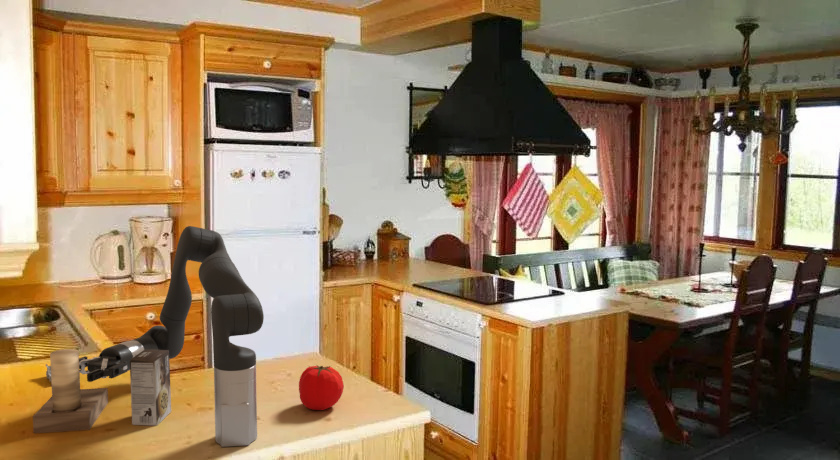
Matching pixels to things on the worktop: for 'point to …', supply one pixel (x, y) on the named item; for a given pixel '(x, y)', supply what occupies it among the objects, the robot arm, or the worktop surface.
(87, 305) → the worktop surface
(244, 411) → the robot arm
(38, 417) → the seat board
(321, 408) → the tomato
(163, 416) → the coffee box
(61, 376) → the stool leg
